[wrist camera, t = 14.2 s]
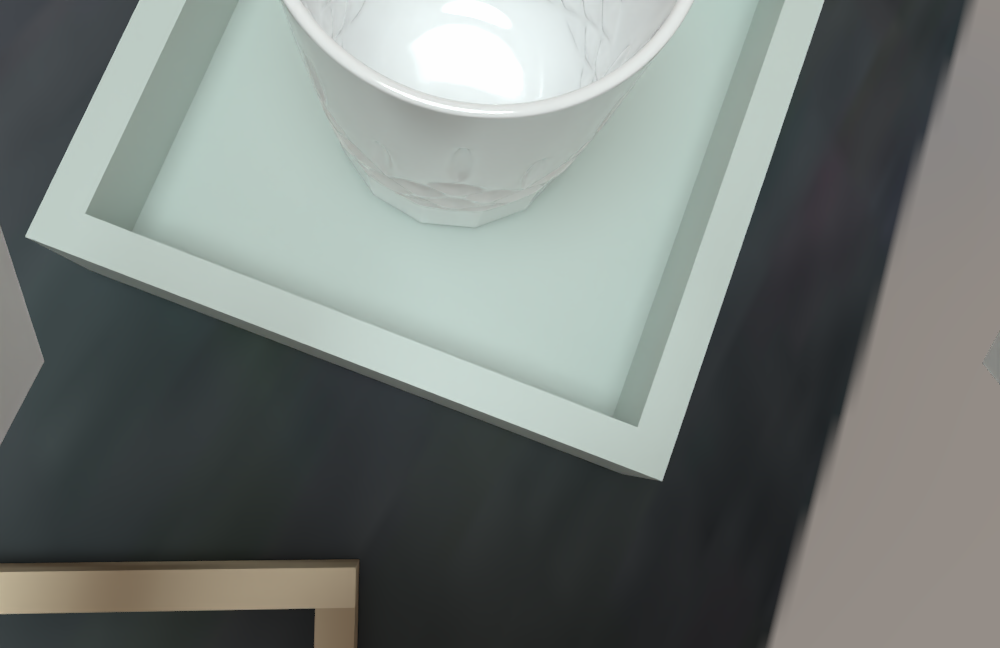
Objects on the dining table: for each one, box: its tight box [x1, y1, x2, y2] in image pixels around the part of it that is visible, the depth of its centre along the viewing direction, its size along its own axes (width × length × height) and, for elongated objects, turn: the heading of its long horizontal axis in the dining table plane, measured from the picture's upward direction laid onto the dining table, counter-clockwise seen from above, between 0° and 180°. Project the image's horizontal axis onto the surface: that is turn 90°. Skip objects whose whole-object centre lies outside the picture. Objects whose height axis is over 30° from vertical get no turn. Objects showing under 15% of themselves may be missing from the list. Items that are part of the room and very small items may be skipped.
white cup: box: [279, 0, 694, 228], centre depth 19 cm, size 8×8×10 cm
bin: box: [25, 0, 824, 481], centre depth 23 cm, size 16×16×4 cm
